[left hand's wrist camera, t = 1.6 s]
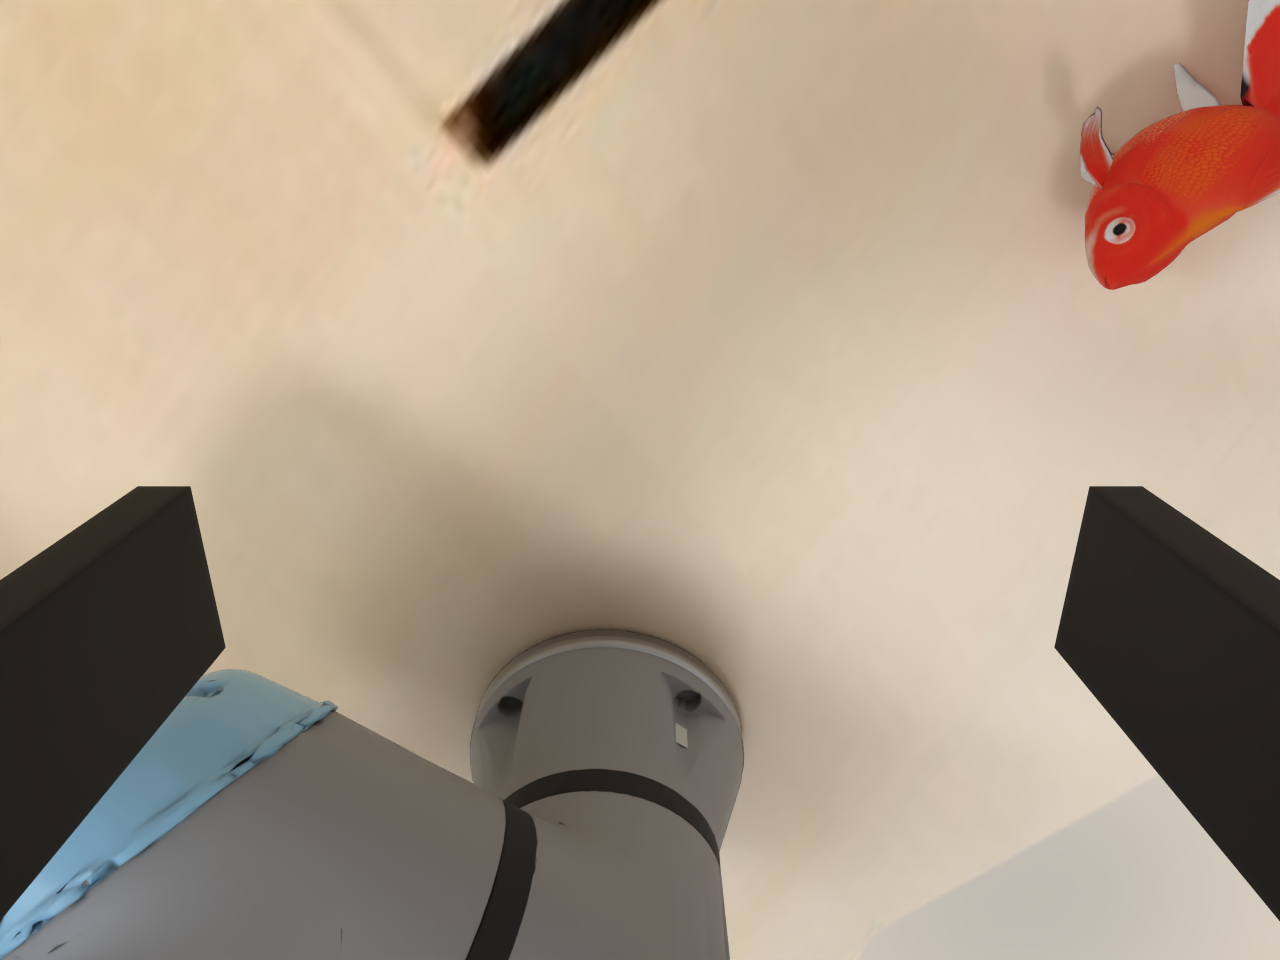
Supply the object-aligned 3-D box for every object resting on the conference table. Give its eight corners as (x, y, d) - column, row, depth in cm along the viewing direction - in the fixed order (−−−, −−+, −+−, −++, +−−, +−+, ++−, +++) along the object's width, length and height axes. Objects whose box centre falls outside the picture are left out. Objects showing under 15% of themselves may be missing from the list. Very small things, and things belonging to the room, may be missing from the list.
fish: (957, 73, 30) (1261, 79, 22) (1230, -156, 32) (1585, -221, 25) (1005, 308, 36) (1251, 375, 29) (1228, 103, 39) (1507, 114, 31)
